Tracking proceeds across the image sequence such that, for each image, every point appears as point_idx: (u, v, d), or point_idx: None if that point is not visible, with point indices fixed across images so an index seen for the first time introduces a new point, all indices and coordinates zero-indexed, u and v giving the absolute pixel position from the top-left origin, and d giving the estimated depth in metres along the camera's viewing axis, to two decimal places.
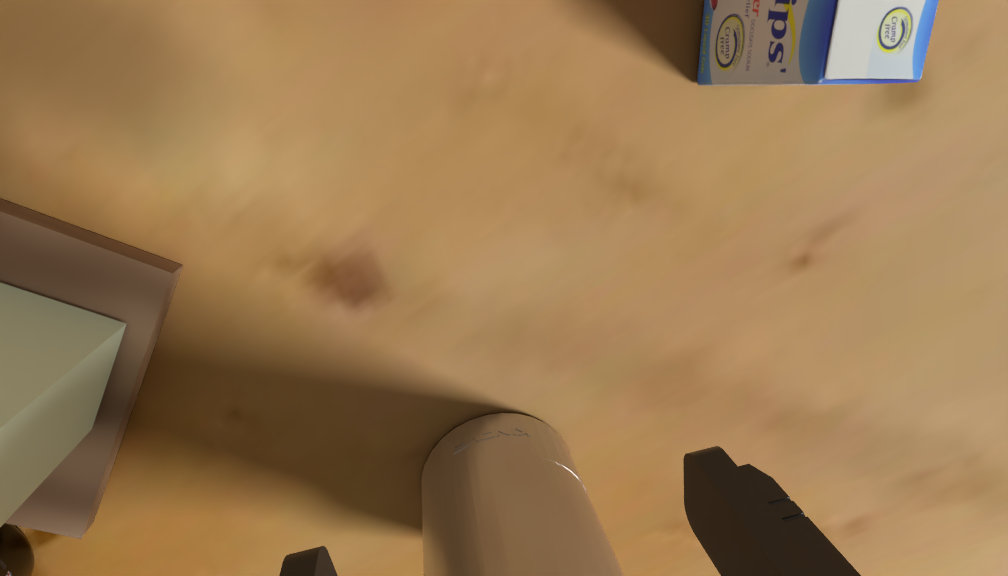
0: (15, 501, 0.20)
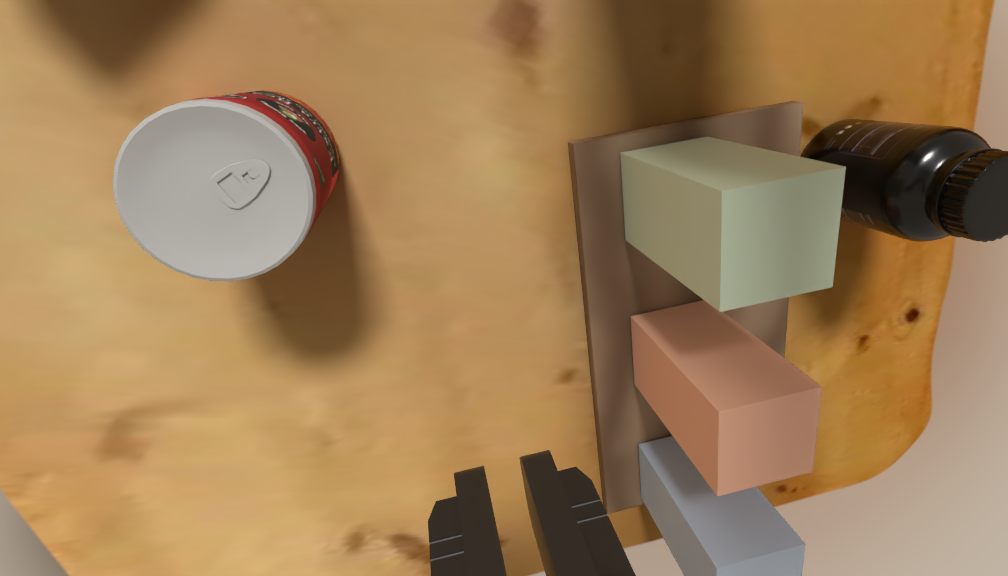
0: (747, 150, 0.30)
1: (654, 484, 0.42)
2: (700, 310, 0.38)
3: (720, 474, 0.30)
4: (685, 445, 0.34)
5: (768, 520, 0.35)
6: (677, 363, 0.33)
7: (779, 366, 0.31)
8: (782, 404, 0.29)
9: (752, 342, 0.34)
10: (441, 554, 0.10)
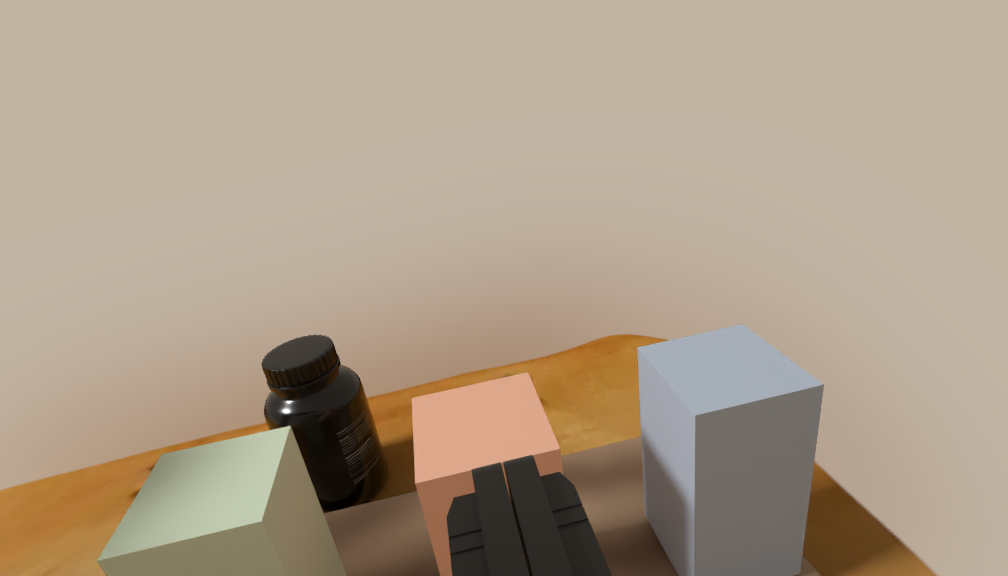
0: None
1: (724, 555, 0.26)
2: None
3: (520, 455, 0.22)
4: None
5: (646, 393, 0.28)
6: (438, 567, 0.23)
7: None
8: (425, 423, 0.25)
9: None
10: (461, 549, 0.10)
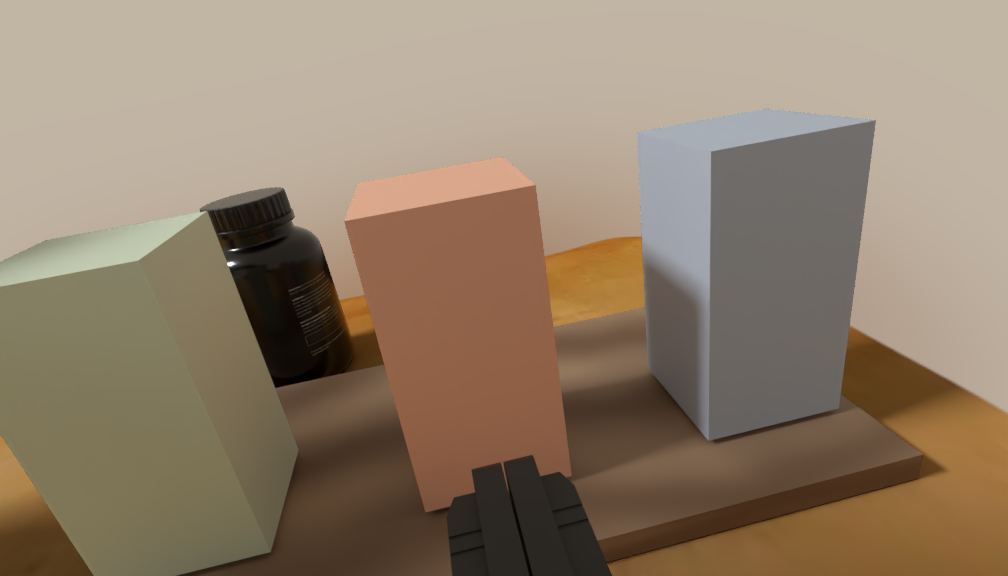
0: None
1: (747, 372, 0.21)
2: None
3: (483, 193, 0.17)
4: (532, 297, 0.18)
5: (649, 188, 0.23)
6: (383, 359, 0.18)
7: None
8: (369, 192, 0.20)
9: None
10: (461, 550, 0.10)
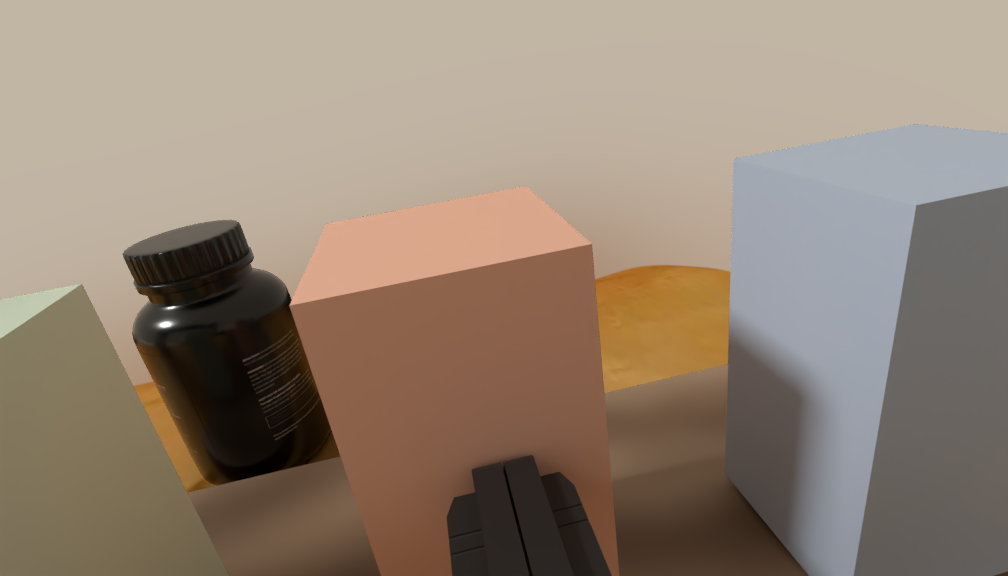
0: None
1: (914, 528, 0.14)
2: None
3: (510, 257, 0.11)
4: (580, 404, 0.12)
5: (751, 240, 0.16)
6: (357, 498, 0.12)
7: None
8: (338, 242, 0.13)
9: None
10: (461, 549, 0.10)
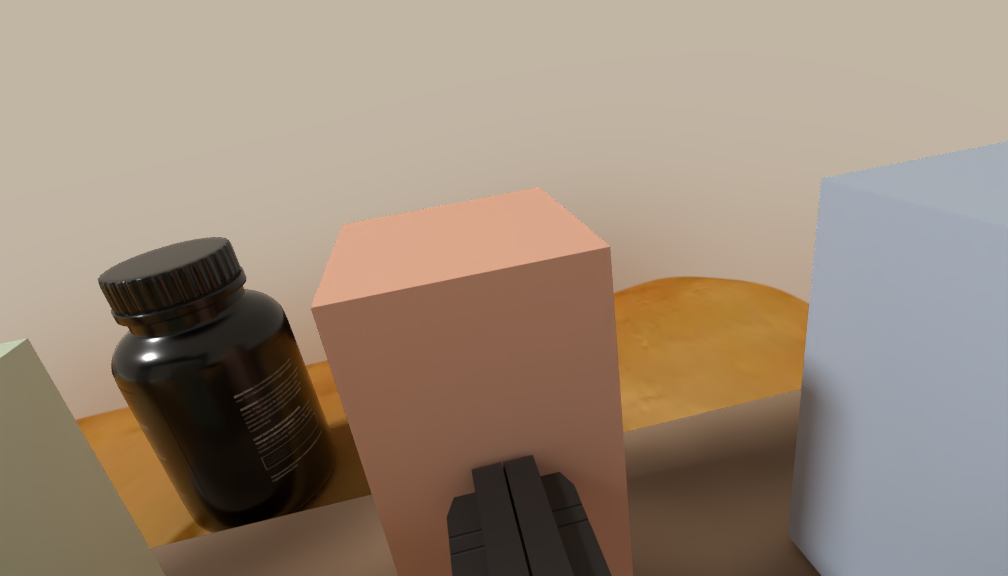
0: None
1: None
2: None
3: (529, 260, 0.11)
4: (596, 405, 0.12)
5: (842, 278, 0.13)
6: (375, 497, 0.12)
7: None
8: (355, 244, 0.14)
9: None
10: (461, 549, 0.10)
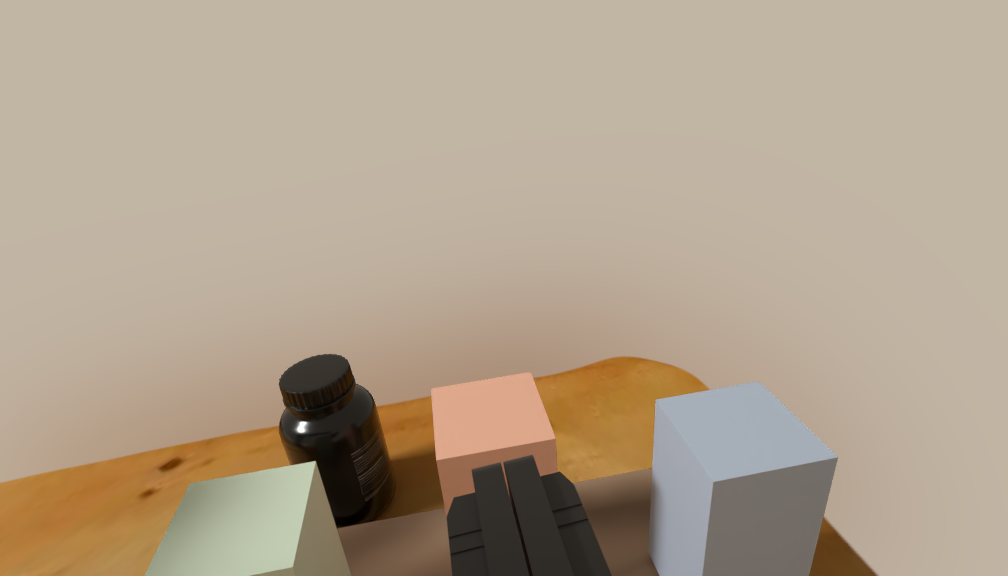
0: None
1: None
2: None
3: (522, 442, 0.27)
4: None
5: (662, 444, 0.29)
6: None
7: None
8: (443, 411, 0.29)
9: None
10: (461, 550, 0.10)
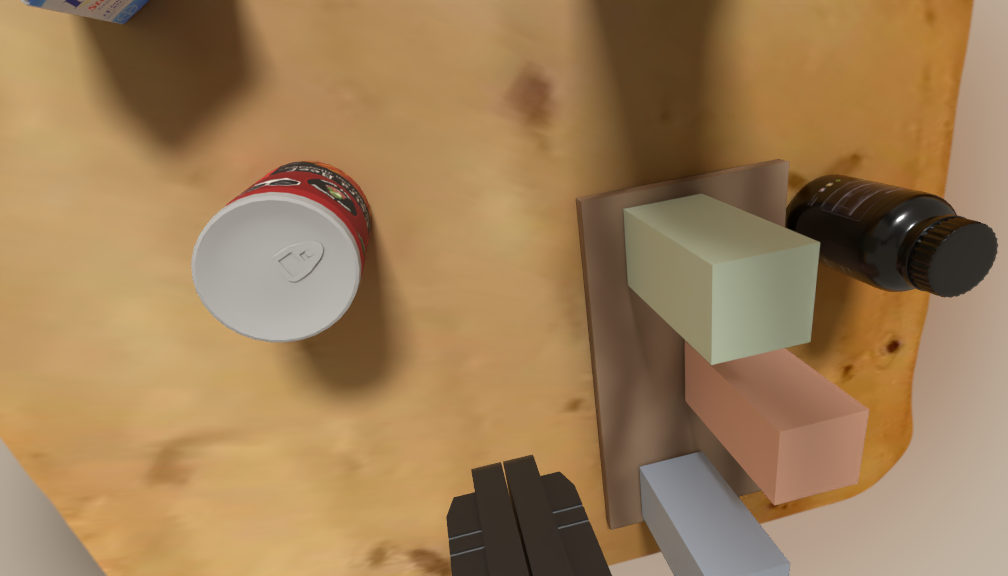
0: (737, 214, 0.33)
1: (654, 505, 0.45)
2: None
3: (778, 485, 0.34)
4: (741, 459, 0.38)
5: (757, 540, 0.39)
6: (735, 386, 0.37)
7: (828, 390, 0.35)
8: (834, 425, 0.33)
9: (801, 366, 0.38)
10: (461, 549, 0.10)
